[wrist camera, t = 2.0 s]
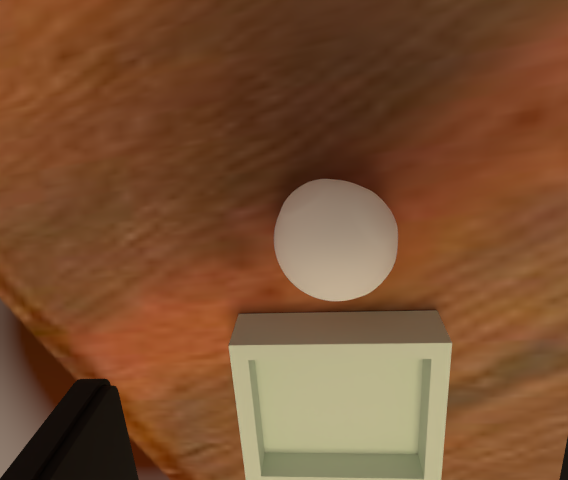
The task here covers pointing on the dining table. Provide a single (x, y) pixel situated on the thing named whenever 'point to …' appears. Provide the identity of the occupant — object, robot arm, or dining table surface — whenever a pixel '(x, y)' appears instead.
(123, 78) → the dining table surface
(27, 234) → the dining table surface
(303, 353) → the green divided tray
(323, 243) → the white ball
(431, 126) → the dining table surface
